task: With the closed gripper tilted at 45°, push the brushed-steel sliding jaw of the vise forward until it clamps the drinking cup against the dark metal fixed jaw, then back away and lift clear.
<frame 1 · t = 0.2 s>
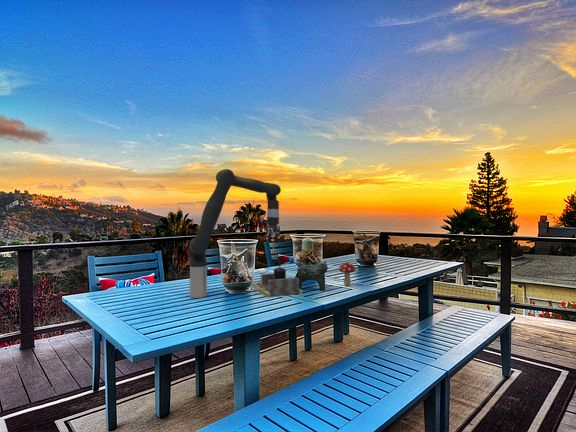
hand: (272, 242, 211), 29 cm above the table, tool pointing down, fingers open, 8 cm apart
dark green legged piece: (311, 290, 209), on the table
decorative mushroom: (347, 286, 221), on the table
sliding jaw: (273, 280, 214), point 5 cm above the table, slide at 0.0 cm
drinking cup: (279, 292, 203), resting in vise frame
vise frame: (276, 290, 208), on the table
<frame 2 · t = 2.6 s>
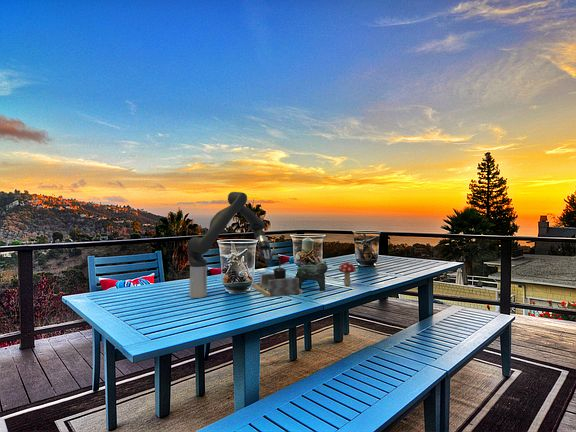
hand: (268, 264, 221), 14 cm above the table, tool tilted 45°, fingers closed
nothing on the table moved.
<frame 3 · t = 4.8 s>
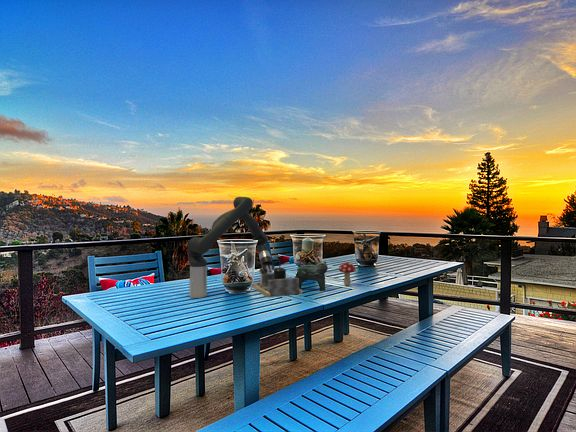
hand: (271, 280, 215), 4 cm above the table, tool tilted 45°, fingers closed
sliding jaw: (273, 280, 213), point 5 cm above the table, slide at 0.4 cm, touching gripper
everything else where it was.
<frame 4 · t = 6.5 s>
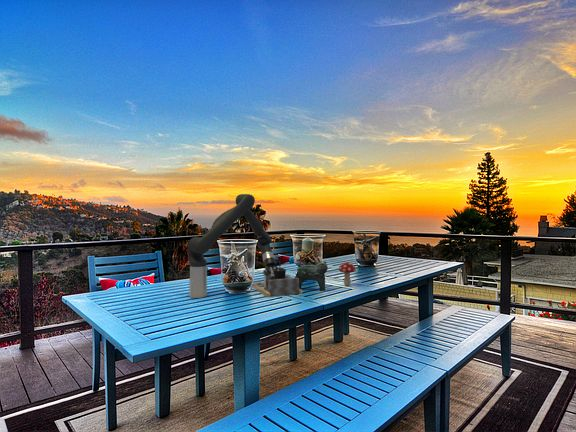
hand: (275, 283, 209), 4 cm above the table, tool tilted 45°, fingers closed
sliding jaw: (277, 282, 207), point 5 cm above the table, slide at 7.4 cm, touching gripper
everything else where it was.
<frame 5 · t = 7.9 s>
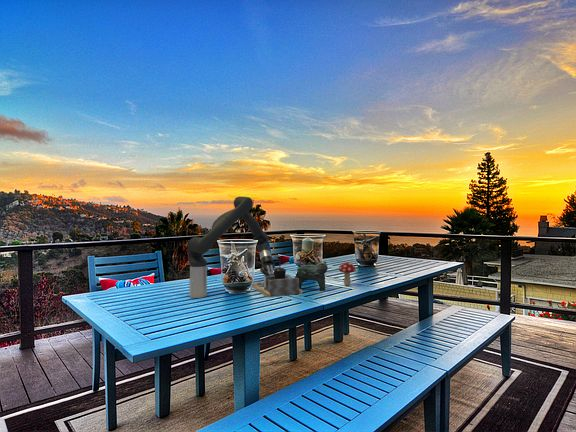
hand: (272, 280, 215), 5 cm above the table, tool tilted 45°, fingers closed
sliding jaw: (277, 282, 207), point 5 cm above the table, slide at 7.5 cm, touching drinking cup
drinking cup: (279, 292, 203), resting in vise frame, touching sliding jaw
everything else where it was.
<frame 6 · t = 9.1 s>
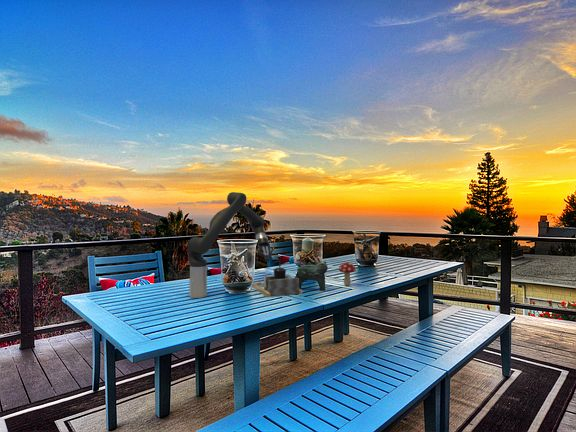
hand: (267, 260, 223), 16 cm above the table, tool tilted 45°, fingers closed
nothing on the table moved.
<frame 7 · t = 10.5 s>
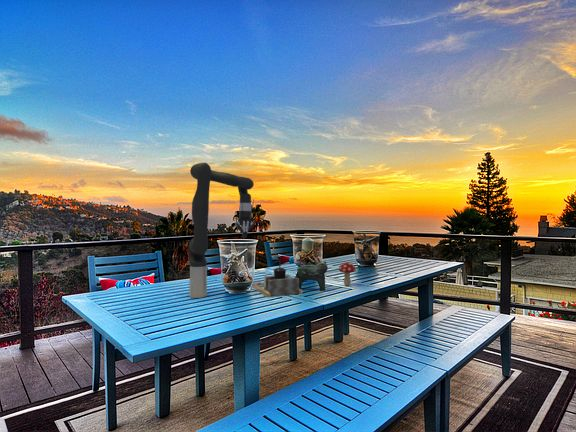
hand: (244, 237, 214), 32 cm above the table, tool pointing down, fingers closed
nothing on the table moved.
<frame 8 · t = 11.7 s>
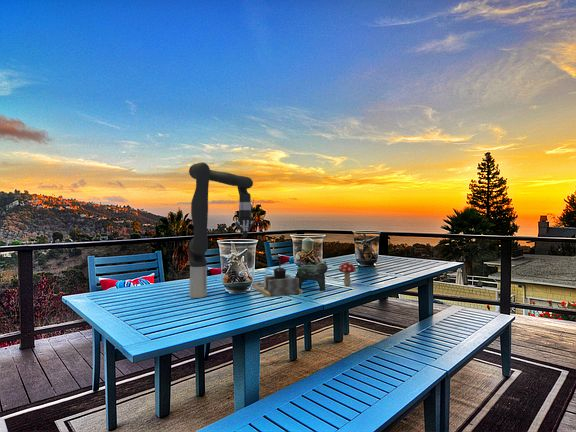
hand: (245, 237, 214), 32 cm above the table, tool pointing down, fingers closed
nothing on the table moved.
at the end: sliding jaw slide at 7.5 cm; sliding jaw touching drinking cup; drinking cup tilted 0° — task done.
